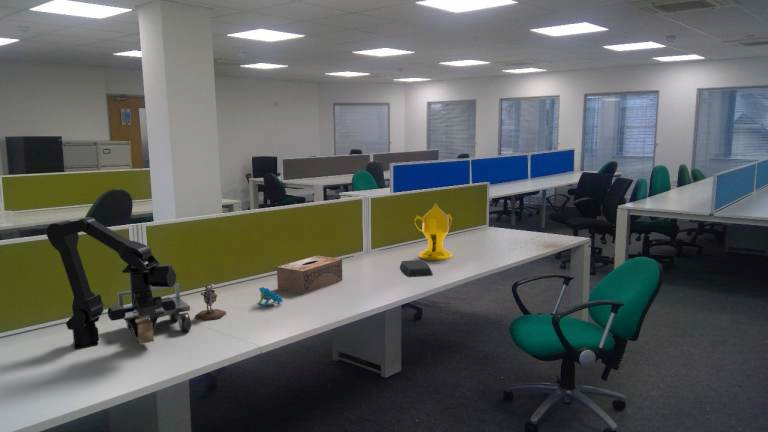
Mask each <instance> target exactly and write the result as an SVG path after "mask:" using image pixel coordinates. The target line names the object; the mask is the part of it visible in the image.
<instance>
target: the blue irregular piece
mask: <svg viewBox="0 0 768 432" xmlns="http://www.w3.org/2000/svg"><path fill="white" fill-rule="evenodd" d="M258 290H259V292H260V295H259V296H260V299H259V301H258V304H261V303H262V302H263V300H264V303H263V305H262V306H263V307H264V308H265V307H267V305H268V304H269V301H271V300H272V301H273V302H275V303H276V302H277V303H278V304H280V303H281V304H282V303H283V301H284V300H283V298H282V297H280V295H279V294H277V293H276V294H275V291H273V290H270V289H269V288H265V287H264V286H261V287H259V289H258Z"/></svg>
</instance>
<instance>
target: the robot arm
mask: <svg viewBox="0 0 768 432" xmlns="http://www.w3.org/2000/svg"><path fill="white" fill-rule="evenodd" d="M81 232H82V233H84V234H86V235H87V236H90V238H91V237H92V238H93V239H95V240H96V241H98V242H100V243H101V244H103V245H105V246H107V247H108V248H109V249H112V251H114V252H115V253H117V254H118V256H119V258H120V259H121V260H122V261H123V262H125V264H127V265H126V266H125V268H123V270H122V271H121V272H122V273H123V274H129V284H130V285H129V286H130V291H131V294H130V298H131V306H132V307H128V308H123V307H124V306H123V307H122V305H120V306H119V305H115V306H110V307H109V308H108V309H107V317H108V318H109V319H110V321H112V322H113V321H117V320H118V321H119V320H124V321H125V322H126V321H127V320H128V321H129V323H130V325H131V327H132V329H131V330H132V331H133V333H135V334H134V336H135V335H136V337H138V331H137V327H136V321H135V317H134V316H133V313H136V312H138V315H139V316H141V317H143V316H145V315H150V318H149V319H150V320H151V322H152V323H153V332H154V330H155V327H156V324H157V321H158V319H159V318H160V317H161V316H160V315H161V314H163V313H164V312H163V311H162V309H164V310H165V311H169V310H175V309H176V304H175V301H174V300H172V299H173V298H171V297H164V298H162V296H161V295H160V296H155V297H154V296H153V293H152V292H153V291H151V288H152V287H171V288H174V287H173V286H174V284H176V281H177V274H176V271H175V270H174V268H173V265H172V264H160V262H159V260H157V258H156V256H155V255H154V254H153V253H152V249H151V247H149V246H148V245H147V244H145V243H141V242H139V241H135V240H130V239H128V238H125V237H123V236H122V235H120V234H119V233H117V232H115V231H113V229H110V228H108V227H107V226H105V225H104V224H102V223H101V222H99V221H97V220H96V219H95V218H93V217H90V216H87V217H85V218H83V217H82V218H80V219H78V220H75V221H72V220H67V219H66V220H62V221H61V220H60V221H59V222H53V223H51V224H49V225H48V226H47V228H46V229H45V233H46V237H47V239H48V241H49V242H50V245H51V246H52V247H53V248H54V249H55V250H56V251H58V253H59V256H60V259H61V261H62V264H63V267H64V270H65V274H66V276H67V279H68V282H69V287H70V288H71V289H70V290H71V292H72V295H73V299H72V304H71V310H72V316H71V317H70V318H69V319H68V320H67V321H66V323H65V324H66V327H67V329H68V330H72V332H71V333H72V345H73V348H74V349H75V350H77V349H82V348H88V347H92V346H97V345H99V341H100V337H99V328H98V327H97V326H96V322H99V321H100V317H101V315H102V314H103V312H104V307H105V304H104V303H103V301H102V296H101V294H100V293H99V294H97V295H96V294H95V293H94V292H93V291H92V290H91V287H90V283H89V280H88V278H87V275H86V272H85V268H84V265H83V262H82V259H81V256H80V253H79V250H78V242H79V239H80V237H79V233H81ZM136 309H137V310H136ZM159 316H160V317H159Z"/></svg>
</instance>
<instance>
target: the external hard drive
mask: <svg viewBox="0 0 768 432" xmlns="http://www.w3.org/2000/svg"><path fill="white" fill-rule="evenodd" d="M399 269H400V270H401V272H402V273H403V274H404V275H405V276H406V277H409V278H410V277H425V276H426V277H427V276H433V271H432V269H431V266H430V264H429V263H428V262H427V261H425V260H424V259H414V260H413V259H412V260H402V261H401V262H400V265H399Z"/></svg>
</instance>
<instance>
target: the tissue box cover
mask: <svg viewBox="0 0 768 432" xmlns="http://www.w3.org/2000/svg"><path fill="white" fill-rule="evenodd" d="M276 278H277V283H276V285H277V290H279V291H286V292H290V293H295V294H298V295H299V294H301V295H305V294H308V293H312V292H314V291H317V290H319V289H324V288H325V287H328V286H331V285H334V284H337V283H340V282H343V259H342V258H336V257H330V256H329V257H328V256H323V255H314V256H310V257H306V258H303V259H300V260H296V261H293V262H289V263H286V264H282V265H279V266H276Z"/></svg>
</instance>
